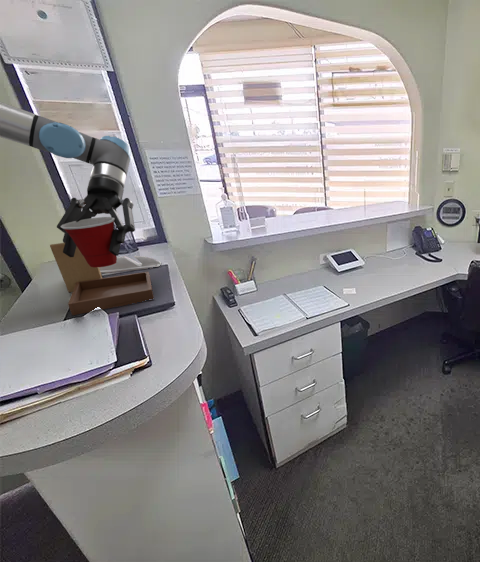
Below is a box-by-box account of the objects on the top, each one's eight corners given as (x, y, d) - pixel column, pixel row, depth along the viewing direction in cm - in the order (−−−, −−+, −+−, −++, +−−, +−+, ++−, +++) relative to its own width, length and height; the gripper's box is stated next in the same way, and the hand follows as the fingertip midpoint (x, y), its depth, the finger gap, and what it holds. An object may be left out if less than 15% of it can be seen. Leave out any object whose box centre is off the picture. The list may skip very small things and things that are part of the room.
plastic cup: (75, 263, 84) (59, 219, 80) (124, 255, 91) (112, 215, 87) (76, 274, 77) (58, 226, 73) (129, 265, 84) (116, 221, 79)
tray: (72, 315, 80) (67, 304, 78) (79, 292, 93) (76, 282, 91) (154, 299, 89) (151, 289, 88) (150, 280, 102) (148, 271, 101)
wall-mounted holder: (156, 255, 112) (85, 262, 104) (159, 267, 114) (90, 274, 105) (158, 251, 118) (91, 256, 109) (161, 262, 119) (95, 269, 110)
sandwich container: (101, 271, 108) (87, 228, 102) (104, 285, 97) (89, 239, 91) (67, 276, 102) (51, 232, 96) (67, 292, 92) (49, 244, 86)
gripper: (156, 193, 94) (146, 258, 86) (70, 192, 89) (51, 262, 81) (144, 176, 87) (132, 245, 79) (50, 174, 82) (27, 248, 74)
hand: (91, 254), depth 80 cm, fingers closed on plastic cup, 9 cm apart
